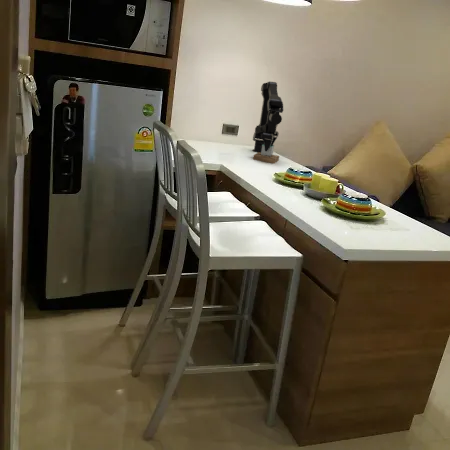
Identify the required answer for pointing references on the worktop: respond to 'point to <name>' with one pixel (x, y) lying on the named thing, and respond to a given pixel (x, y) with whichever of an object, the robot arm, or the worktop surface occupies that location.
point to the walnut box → (266, 158)
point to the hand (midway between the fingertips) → (267, 150)
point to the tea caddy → (268, 152)
